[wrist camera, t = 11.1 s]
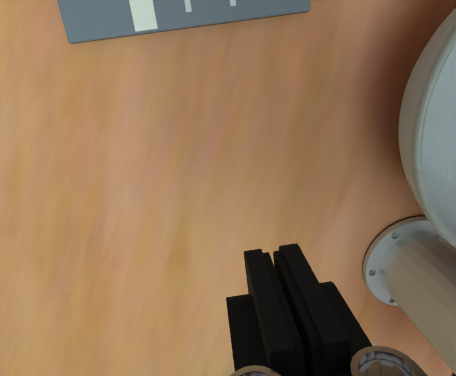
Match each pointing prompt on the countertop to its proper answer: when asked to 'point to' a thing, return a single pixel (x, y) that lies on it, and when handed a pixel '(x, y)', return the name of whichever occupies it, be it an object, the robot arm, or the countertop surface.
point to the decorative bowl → (432, 130)
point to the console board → (162, 15)
